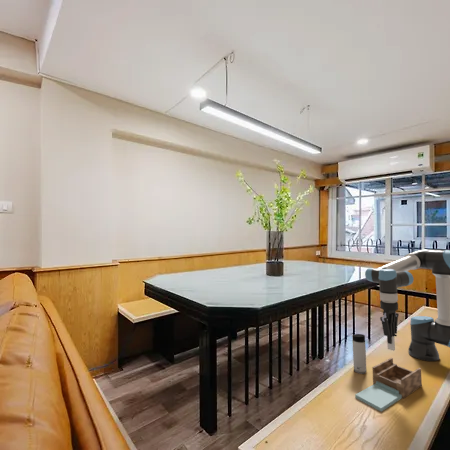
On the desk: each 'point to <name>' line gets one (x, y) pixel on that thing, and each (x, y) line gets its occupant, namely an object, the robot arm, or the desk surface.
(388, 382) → the box
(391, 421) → the desk surface
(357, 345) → the travel mug
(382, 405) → the cover plate
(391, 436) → the desk surface
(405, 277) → the robot arm
